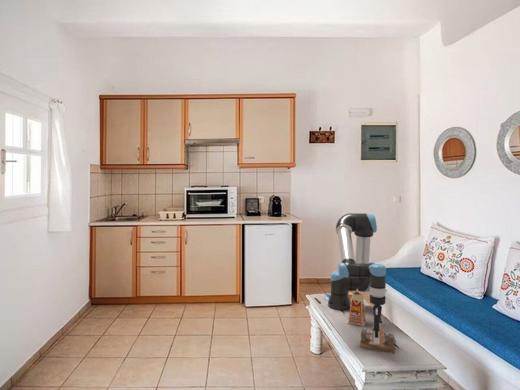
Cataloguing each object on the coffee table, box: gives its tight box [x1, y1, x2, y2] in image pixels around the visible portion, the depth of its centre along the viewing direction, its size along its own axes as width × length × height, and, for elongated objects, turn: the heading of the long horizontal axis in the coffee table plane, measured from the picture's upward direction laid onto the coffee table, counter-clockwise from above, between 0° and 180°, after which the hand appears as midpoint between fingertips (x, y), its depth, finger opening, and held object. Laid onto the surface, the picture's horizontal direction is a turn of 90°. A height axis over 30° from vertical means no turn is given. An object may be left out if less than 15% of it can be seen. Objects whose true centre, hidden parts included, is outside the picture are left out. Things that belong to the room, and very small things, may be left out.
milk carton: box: [347, 289, 367, 327], centre depth 199 cm, size 9×9×20 cm
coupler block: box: [371, 325, 384, 345], centre depth 171 cm, size 5×5×7 cm
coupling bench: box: [359, 329, 396, 354], centre depth 172 cm, size 16×16×6 cm
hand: (377, 339), depth 171 cm, fingers open, 8 cm apart
